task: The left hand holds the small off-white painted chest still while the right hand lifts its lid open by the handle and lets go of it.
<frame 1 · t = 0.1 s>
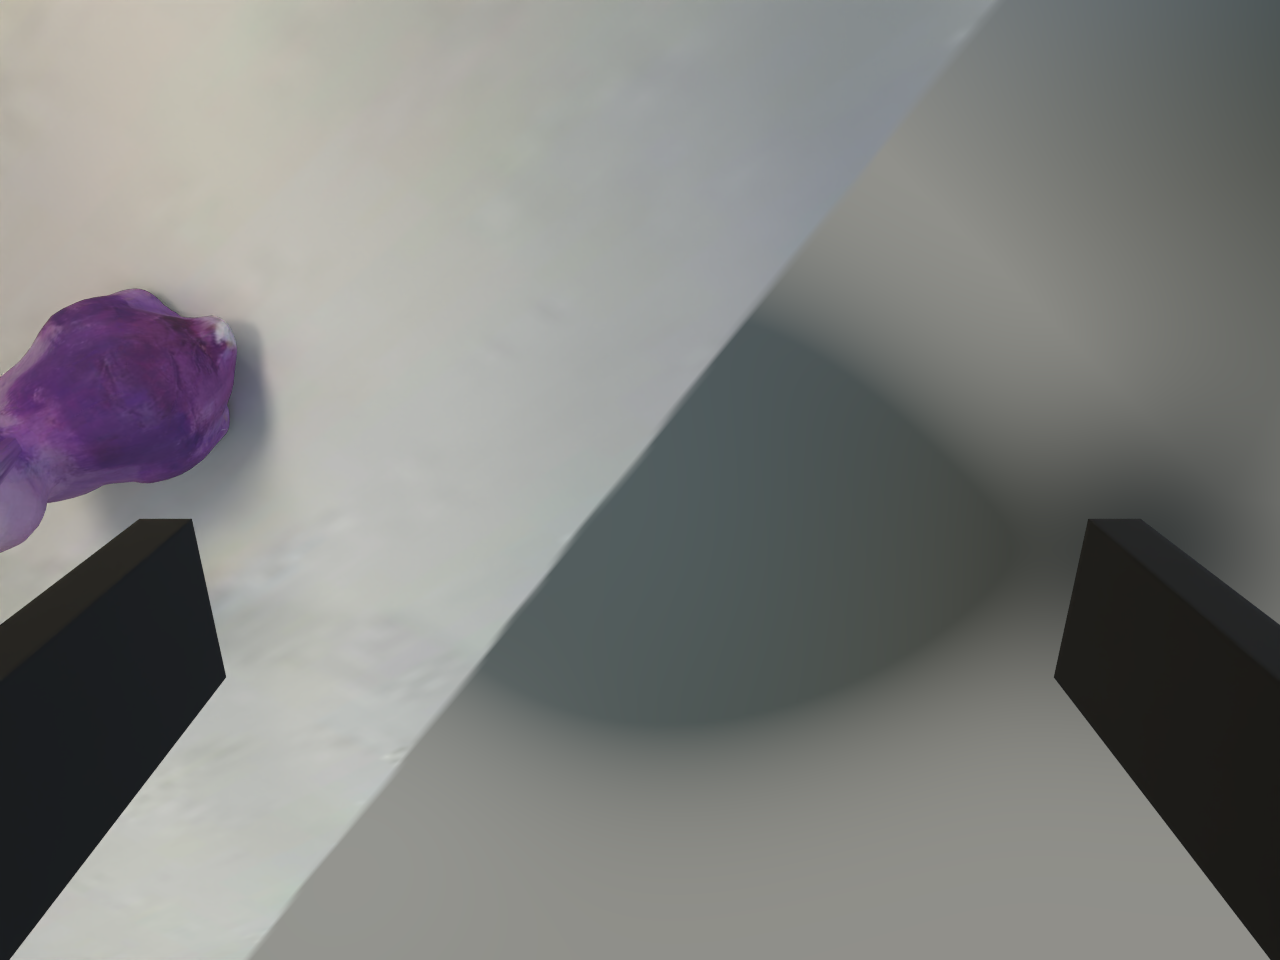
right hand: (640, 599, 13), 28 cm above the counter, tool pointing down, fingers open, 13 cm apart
figurine: (150, 391, 40), on the counter
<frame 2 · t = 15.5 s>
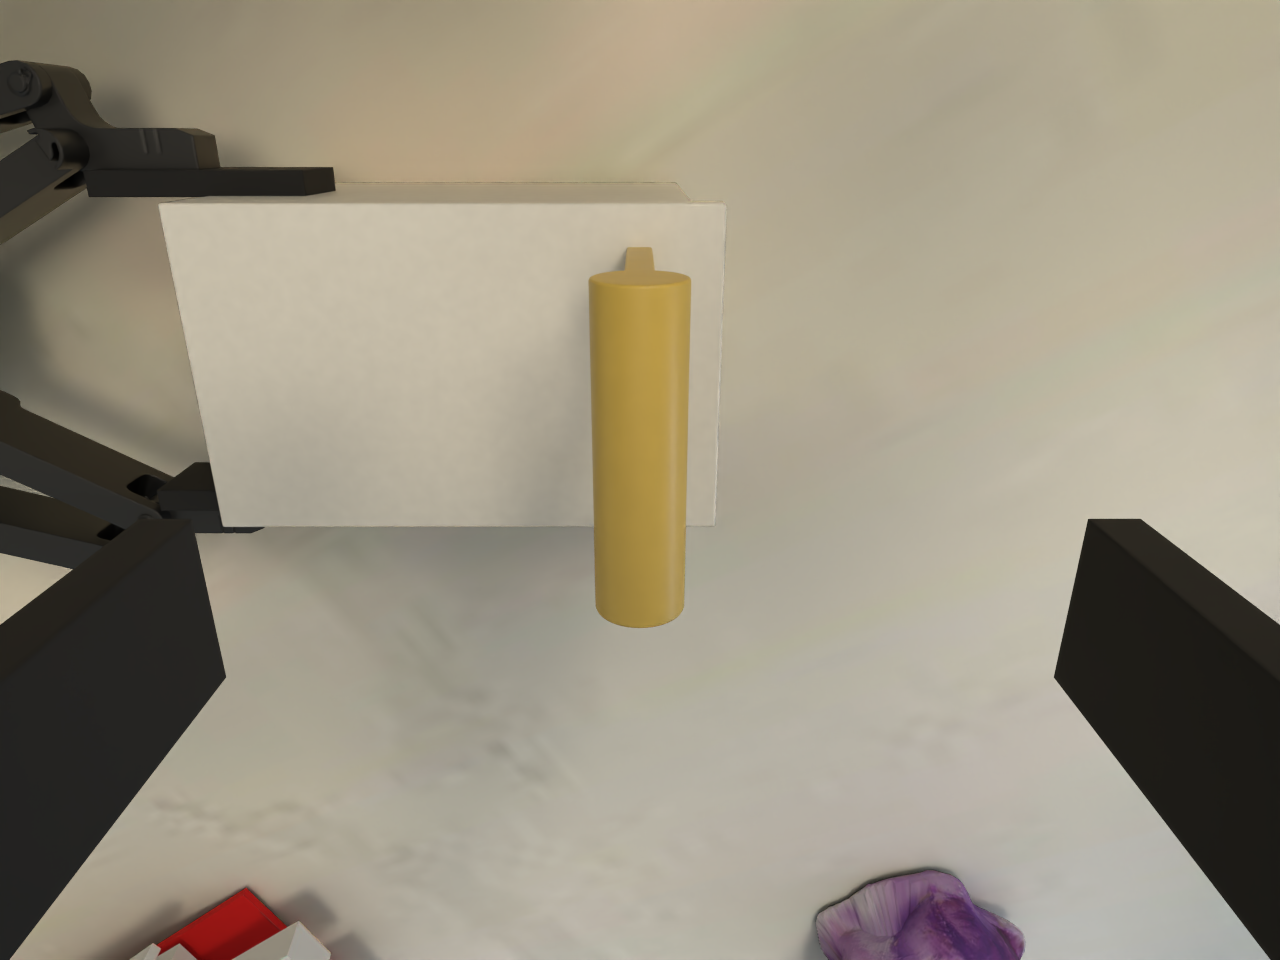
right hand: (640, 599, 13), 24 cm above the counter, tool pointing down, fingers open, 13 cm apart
figurine: (894, 925, 48), on the counter
chest: (499, 306, 35), on the counter, touching left hand
lid: (430, 411, 21), point 14 cm above the counter, hinge at 0.0°
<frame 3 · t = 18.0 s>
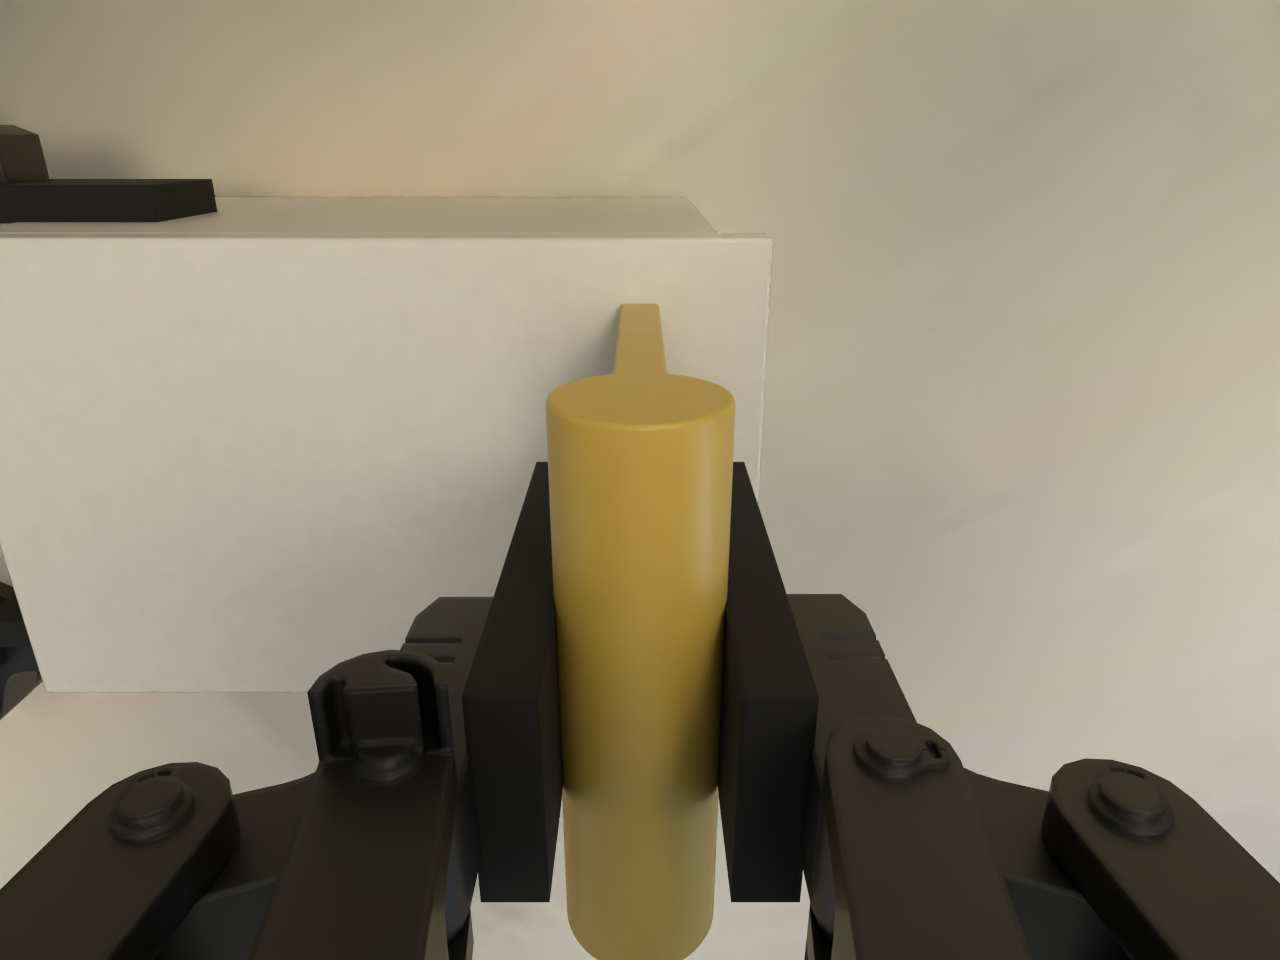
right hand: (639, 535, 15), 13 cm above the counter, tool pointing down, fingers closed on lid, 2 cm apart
chest: (458, 355, 27), on the counter, touching left hand
lid: (309, 569, 14), point 14 cm above the counter, hinge at 0.0°, touching right hand
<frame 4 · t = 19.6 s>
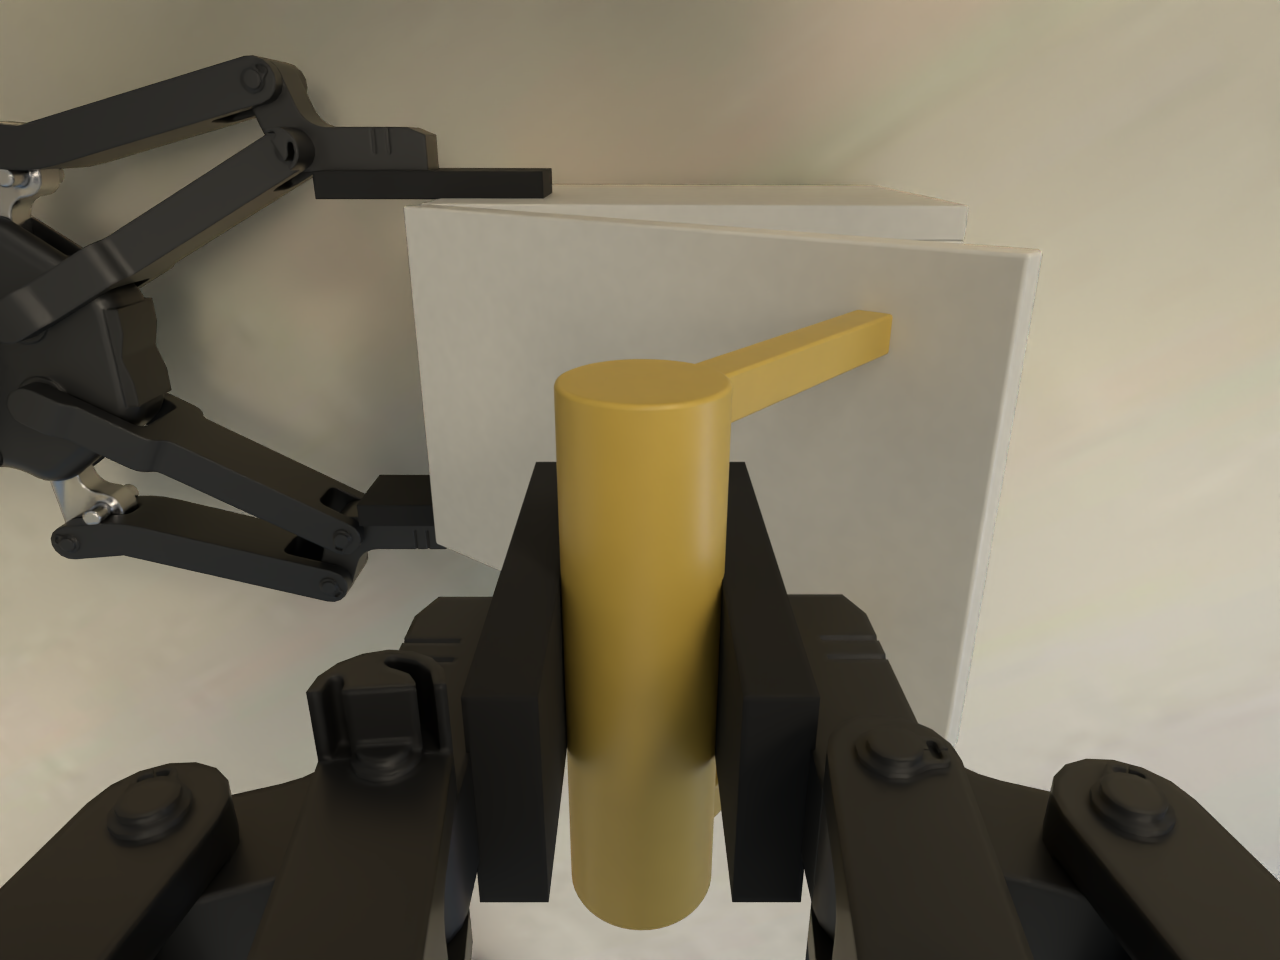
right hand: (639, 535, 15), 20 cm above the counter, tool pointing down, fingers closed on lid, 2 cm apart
left hand: (553, 352, 27), fingers closed on chest, 10 cm apart
chest: (680, 313, 33), on the counter, touching left hand
lid: (528, 490, 17), point 18 cm above the counter, hinge at 37.5°, touching right hand
when the left hand's fingers open (7 cm above the counter, at t = 25.6 s): chest stays where it is, on the counter.
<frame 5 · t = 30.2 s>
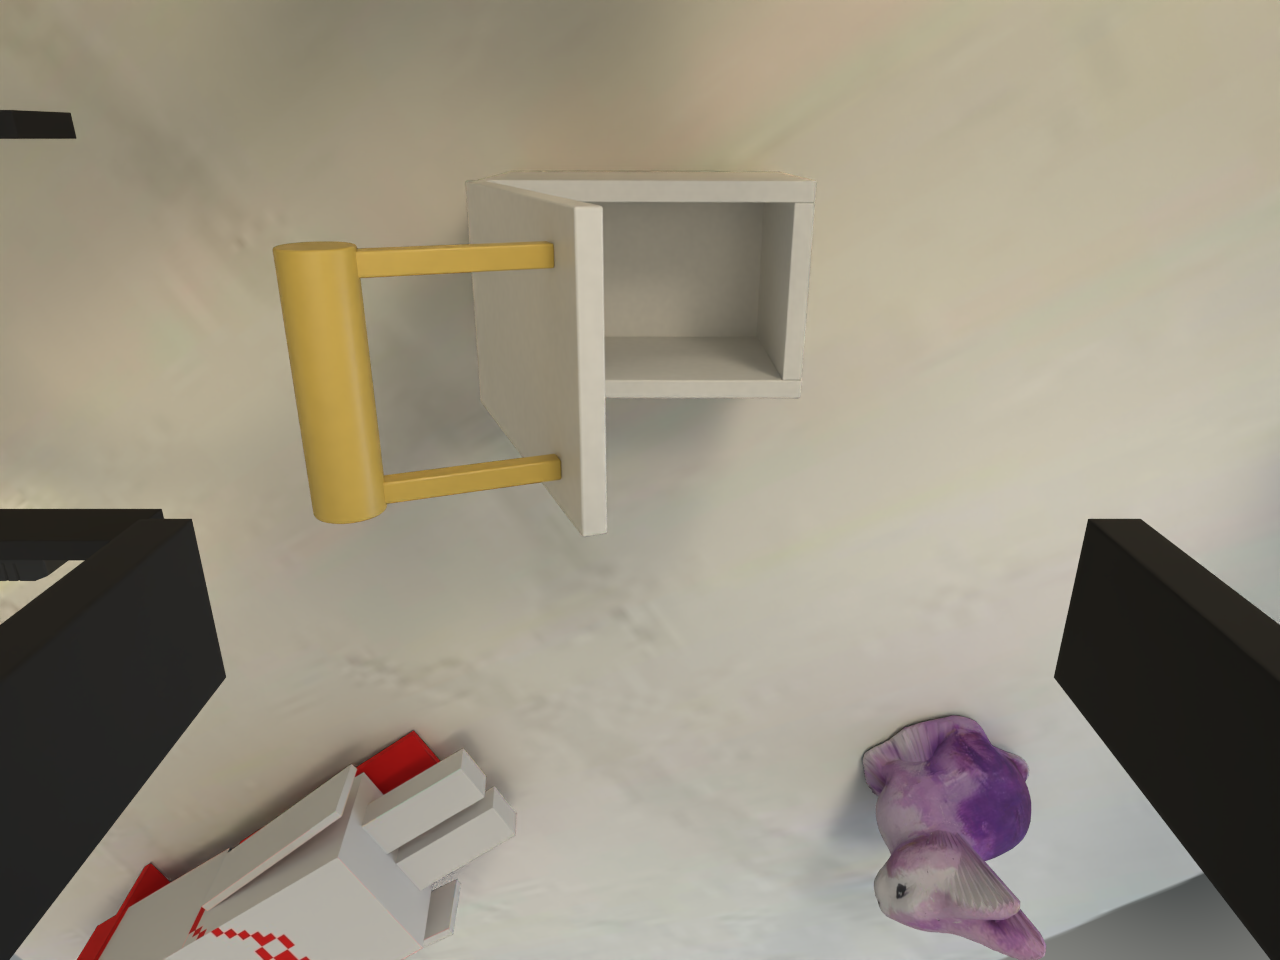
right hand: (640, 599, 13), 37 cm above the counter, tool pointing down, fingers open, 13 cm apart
figurine: (925, 764, 60), on the counter
toy: (327, 831, 62), on the counter
chest: (644, 263, 47), on the counter
lid: (420, 338, 29), point 19 cm above the counter, hinge at 68.7°
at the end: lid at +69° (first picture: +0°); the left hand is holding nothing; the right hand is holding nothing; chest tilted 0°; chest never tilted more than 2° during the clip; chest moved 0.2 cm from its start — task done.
